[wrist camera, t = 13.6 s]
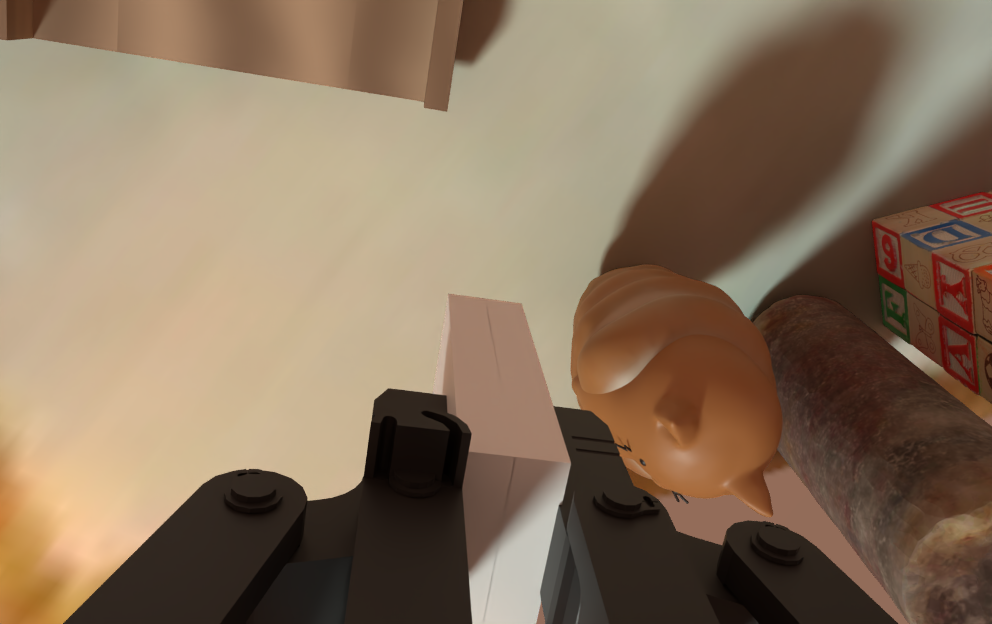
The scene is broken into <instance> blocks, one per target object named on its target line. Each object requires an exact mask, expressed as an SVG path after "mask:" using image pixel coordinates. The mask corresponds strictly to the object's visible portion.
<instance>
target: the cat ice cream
mask: <svg viewBox="0 0 992 624" xmlns="http://www.w3.org/2000/svg"><path fill="white" fill-rule="evenodd" d="M571 376H572V388H573V391H574V392H575V394H576V395H577V400H578V403H579V406H580V408H581V410H588V411H592V412H593V413H594V414H595V415H596V416H597V417H599V418H600V419H601V420H602V421H603V422H604V423H606V424H607V425H608V427H609V429H610V431H611V434H612V436H613V438H614V441H615V442H614V444H616V445H617V448H618V450H619V452H620V457H622V459H623V462H624V464H625V466H626V467H628V468H629V469H631V470H633V471H634V472H636V473H638V474H639V475H641V476H644V477H646V478H649V479H653V481H654V482H655V483H656V484H657V485H658V486H660V487H662V488H665V489H668V490H671V491H672V492H673V494H674V496H675V498H676V500H677V502H679V499H678V497H677V495H679V496H680V497H681V499H682V500H684V501H685V502H686V503H687V504H688V501H687V500H686V499H685V498H684V497H683V496H682V495H681V494H683V495H686V496H691V497H695V498H716V497H720V496H723V495H735V496H736V497H737V498H738V499H740V500H741V501H742V502H743V503H745V504H746V505H747V506H748V507H750V508H751V509H752V510H754V511H755V512H757V513H759V514H760V515H763V516H765V517H772V515H773V510H772V505H771V499H770V494H769V491H768V488H767V486H766V483H765V480H764V476H763V471H764V470H765V469H766V467H767V466H768V465H769V463H770V462H771V460H772V458H773V457H774V455H775V453H776V450H777V448H778V445H779V442H780V438H781V434H782V424H783V420H782V410H781V405H780V402H779V398H778V396H777V389H776V381H775V377H774V373H773V370H772V363H771V356H770V352H769V349H768V347H767V344H766V342H765V340H764V338H763V336H762V334H761V333H760V331H759V330H758V329H757V327H756V326H755V325H754V324H753V323H752V322H751V321H750V320H749V319H748V318H747V317H745V316H744V314H743V313H742V311H741V309H740V308H739V307H738V306H737V304H736V303H735V302H734V301H733V300H732V299H731V298H730V297H729V296H728V295H727V294H726V293H725V292H724V291H722V290H721V289H719V288H718V287H716V286H714V285H711V284H708V283H705V282H702V281H698V280H693V279H690V278H688V277H685V276H682V275H679V274H675V273H674V272H672V271H671V270H669V269H667V268H664V267H662V266H658V265H651V264H646V265H638V266H633V267H623V268H618V269H615V270H611V271H609V272H607V273H605V274H603V275H601V276H599V277H597V278H595V279H593V280H592V281H591V282H590V283H589V285H588V287H587V289H586V290H585V292H584V293H583V295H582V297H581V299H580V301H579V304H578V307H577V310H576V313H575V316H574V324H573V339H572V351H571Z"/></svg>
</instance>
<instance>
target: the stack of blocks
mask: <svg viewBox="0 0 992 624" xmlns="http://www.w3.org/2000/svg"><path fill="white" fill-rule="evenodd" d="M872 228H873V238H874V247H875V256H876V265H877V272H878V274H879V275H878V276H879V285H880V296H881V306H882V315H883V324H884V326H886V327H887V328H888V329H890V330H891V331H892V332H893V333H895V334H896V335H897V336H899V337H900V338H901V339H903V340H904V341H906V342H907V343H908V344H910V345H913V346H914V347H915V348H917V349H918V350H919V351H921V352H922V353H923V354H925V355H926V356H927V357H929V358H930V359H931V360H933V361H934V362H935V363H937V364H938V365H940V366H941V367H943V368H944V370H945V371H946V372H947V373H948V374H950V375H951V376H952V377H954V378H955V379H957V380H959V381H960V382H961V383H962V384H963V385H964V386H965V387H968V388H969V389H970V390H971V391H973V392H974V393H975V394H977V395H980V396H982V397H983V398H985V399H986V400H987V401H989V402H990V403H991V404H992V191H990V192H980V193H977V194H972V195H968V196H965V197H961V198H957V199H953V200H949V201H945V202H941V203H937V204H933V205H929V206H926V207H920V208H916V209H912V210H908V211H904V212H900V213H896V214H892V215H888V216H884V217H881V218H877V219H874V220H872Z"/></svg>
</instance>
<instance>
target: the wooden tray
mask: <svg viewBox="0 0 992 624" xmlns="http://www.w3.org/2000/svg"><path fill="white" fill-rule="evenodd" d="M462 6H463V0H0V39H2V40H16V39H28V38H36V39H42V40H48V41H54V42H60V43H66V44H72V45H79V46H85V47H91V48H97V49H103V50H109V51H115V52H122V53H128V54H134V55H140V56H146V57H152V58H159V59H165V60H171V61H177V62H183V63H189V64H195V65H202V66H208V67H214V68H220V69H226V70H232V71H238V72H245V73H251V74H257V75H263V76H269V77H275V78H282V79H288V80H294V81H300V82H306V83H312V84H318V85H325V86H331V87H337V88H343V89H349V90H355V91H361V92H368V93H374V94H380V95H386V96H392V97H398V98H405V99H411V100H417V101H423V102H424V108H429V109H435V110H441V111H447V109H448V102H449V95H450V88H451V81H452V74H453V68H454V61H455V54H456V47H457V40H458V33H459V27H460V20H461V13H462Z"/></svg>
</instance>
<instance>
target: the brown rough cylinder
mask: <svg viewBox="0 0 992 624" xmlns="http://www.w3.org/2000/svg"><path fill="white" fill-rule="evenodd" d="M753 324H754V325H755V326H756V327H757V329H758V330H759V331H760V333H761V334H762V336H763V338H764V340H765V342H766V344H767V347H768V349H769V352H770V356H771V363H772V370H773V373H774V377H775V381H776V389H777V396H778V398H779V402H780V405H781V410H782V420H783V424H782V434H781V438H780V442H779V445H778V448H777V450H778V451H779V452H780V454H781V455H782V456H783V458H784V459H785V460H786V461H787V463H788V464H789V466H790V467H791V468H792V469H793V470H794V472H795V473H796V474H797V475H798V477H799V478H800V479H801V481H802V482H803V483H804V485H805V486H806V487H807V488H808V489H809V491H810V492H811V494H812V495H813V497H814V498H815V500H816V501H817V502H818V504H819V505H820V506H821V508H822V509H823V510H824V511H825V512H826V514H827V515H828V516H829V518H830V519H831V520H832V522H833V523H834V524H835V525H836V526H837V527H838V529H839V530H840V531H841V533H842V534H843V536H844V537H845V539H846V540H847V541H848V542H849V544H850V545H851V546H852V548H853V549H854V550H855V552H856V553H857V555H858V556H859V557H860V558H861V560H862V561H863V563H864V564H865V565H866V567H867V568H868V569H869V571H870V572H871V573H872V574H873V576H874V577H875V578H876V579H877V580H878V582H879V583H880V584H881V585H882V587H883V588H884V590H885V591H886V592H887V593H888V595H889V596H890V598H891V599H892V600H893V602H894V603H895V605H896V606H897V608H898V609H899V610H900V612H901V613H902V615H903V616H904V618H905V619H906V620H907V622H908V623H909V624H992V426H990V425H989V424H988V423H987V422H985V421H984V420H983V419H981V418H980V417H979V416H977V415H976V414H975V413H974V412H972V411H971V410H970V409H969V408H968V407H966V406H965V405H964V404H963V403H962V402H960V401H959V400H958V399H956V398H955V397H954V396H953V395H951V394H950V393H949V392H948V391H946V390H945V389H944V388H943V387H942V386H940V385H939V384H938V383H937V382H935V381H934V380H933V379H932V378H930V377H929V376H928V375H927V374H925V373H924V372H923V371H922V370H920V369H919V368H918V367H917V366H915V365H914V364H913V363H912V362H911V361H909V360H908V359H907V358H906V357H905V356H903V355H902V354H901V353H900V352H899V351H897V350H896V349H895V348H894V347H893V346H891V345H890V344H889V343H888V342H886V341H885V340H884V339H883V338H882V337H880V336H879V335H878V334H877V333H876V332H875V331H873V330H872V329H871V328H870V327H868V326H867V325H866V324H865V323H864V322H862V321H861V320H860V319H859V318H857V317H856V316H855V315H853V314H852V313H851V312H849V311H848V310H847V309H845V308H844V307H843V306H842V305H841V304H839V303H838V302H836V301H834V300H830V299H827V298H824V297H816V296H810V295H795V296H792V297H790V298H787V299H783V300H779V301H777V302H775V303H774V304H772V305H771V306H770V307H769V308H768V309H766V310H765V311H763V312H762V313H761V314H760V315H759V316H758V317H757V318H756V320H755V321H754V322H753Z"/></svg>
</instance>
